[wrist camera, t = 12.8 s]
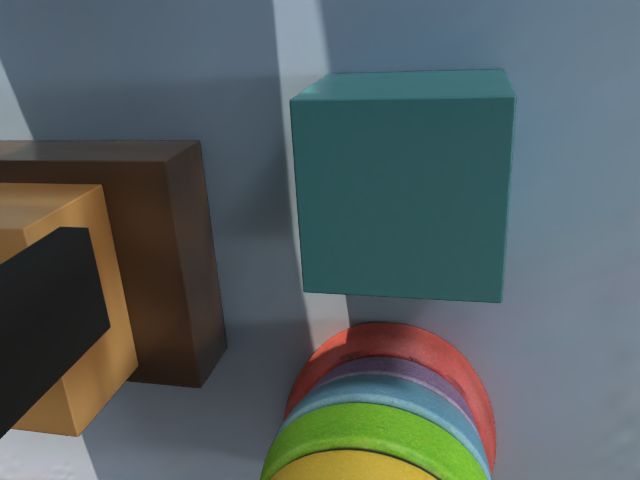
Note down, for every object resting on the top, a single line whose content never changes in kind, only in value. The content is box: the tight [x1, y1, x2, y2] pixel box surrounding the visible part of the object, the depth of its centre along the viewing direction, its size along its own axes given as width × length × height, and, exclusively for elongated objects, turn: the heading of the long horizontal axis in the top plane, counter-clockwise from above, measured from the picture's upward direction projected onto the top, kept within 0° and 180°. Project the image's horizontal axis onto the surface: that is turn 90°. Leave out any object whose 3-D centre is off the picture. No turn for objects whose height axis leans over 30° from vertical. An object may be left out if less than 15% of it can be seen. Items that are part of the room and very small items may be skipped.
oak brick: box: [0, 183, 138, 437], centre depth 25 cm, size 9×5×5 cm, turn 3°
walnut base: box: [0, 140, 227, 388], centre depth 29 cm, size 11×11×4 cm
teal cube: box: [290, 69, 516, 303], centre depth 23 cm, size 7×7×6 cm
